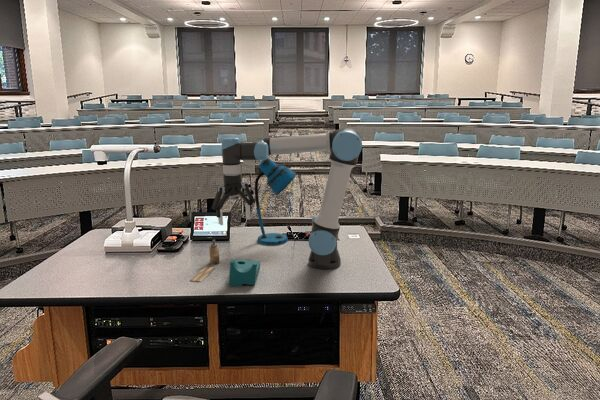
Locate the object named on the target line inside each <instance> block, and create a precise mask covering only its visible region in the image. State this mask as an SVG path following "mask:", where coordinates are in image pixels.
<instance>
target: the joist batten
mask: <svg viewBox="0 0 600 400" xmlns="http://www.w3.org/2000/svg"><path fill="white" fill-rule="evenodd" d="M215 269H216V267H214V266H213V267H211V266H204V267H203V268H202V269H201V270H200V271H199V272H198V273H196V274H195V275H194V276H193V277H192V278H191V279H190V280H189V282H194V283H195V282H196V283H202V282H203V281H204V280H205V279H206V278H207V277H208V276H209V275H210V274H211V273H212V272H213V271H214V270H215Z"/></svg>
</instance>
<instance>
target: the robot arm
mask: <svg viewBox="0 0 600 400" xmlns="http://www.w3.org/2000/svg"><path fill="white" fill-rule="evenodd" d="M362 149H363V142H362V137H361V135H360V133H359V132H358V131H357V130H356V129H354V128H351V127H345V128H339V129H334V130H328V131H327V132H326V133H317V134H316V133H315V134H305V135H292V136H291V135H290V136H281V137H270V138H268V137H267V138H263V137H258V138H256V139H254V140H253V141H251V142H249V141H248V142H247V141H246V142H241V141H240V138H239V137H232V136H231V137H223V138H222V140H221V156H222V159H221V160H222V170H223V172H222V173H223V174H224V175H223V184H224V185H223V186H217V188H216V189H217V190H216V193H215V197H214V199H213V202H212V206H211V209H212V210H214V211H215V215H216V218H218V220H217V221H218V225H220V226H224V217H223V210H222V208H223V207H224V205H225V203H226V201H227V200H228V199H229V198H230V196H231V197H233V196H240V197H241V198H242V200H243V201H244V202H245V203H246V204H245V219H246V220H251V219H252V218H251V212H252V211H253V210H252V206H253V204H254V203H255V204H256V199H255V198H254V196H253V194H252V191H251V190H250V189H249V183H247V182H243V183H242V174H241V172H242V166H241V161H260V162H261V161H262V160H266V159H267V158H269V156H273V155H274V156H275V155H287V154H301V153H302V154H303V153H315V152H329V157H328V160H329V161H330V163H331V164H330V169H329V173H328V176H327V177H328V178H327V180H326V184H325V190H324V192H323V196H322V201H321V203H320V204H321V205H320V210H319V212H318V213H319V214H318V215H314V216H312V219H311V230H310V234H309V236H308V246H309V248H310V253H309V256H308V260H307V261H308V265H309V266H310V267H311V268H314V269H318V270H331V269H335V268H338V267H340V266H341V265H342V263H341V262H342V260H341V257H340V253H339V250H338V236H339V234H340V233H339V231H340V228H341V225H340V223H339V219H340V214H341V211H342V206H343V203H344V199H345V196H346V192H347V187H348V185H349V180H350V176H351V172H352V169H353V168H355V167H357V163H358V162H359V161H358V160H359V156H360V153H361V152H362ZM242 189H243V190H244V192H245V193H246V195H245V194H244V192H243V191H242Z"/></svg>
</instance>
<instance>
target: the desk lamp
mask: <svg viewBox="0 0 600 400" xmlns="http://www.w3.org/2000/svg"><path fill="white" fill-rule="evenodd" d="M258 168H259V169H260V173H258V175H257V176H256V178H255V181H254V197H255V198H254V199H255V206H256V212H257V213H256V214H257V219H258V222H259V227H260V231H261V234H260V235H259V236H258V237H257V242H258V243H259V244H261V245H264V246H279V245H285V244H286V243H288V241H289V239H288V236H287V235H286V234H284V233H280V232H269V233H268V232H267V233H266V231H265V229H264V223H263V219H262V213H261V208H260V200H259V180H260V179H261V178H262V177H263V176H265V177H266V179H267V185H268V186H269V188H270V189H271V190H272V192H273V193H274V195H275V196H278V195H279V194H281V193H282V192H283V191H284V190H285V189H286V188H287V187H288V186H289V185H290V184H291V183H292V181H294V179H295V178H296V177H297V173H296V172H294V171H293V170H291V169H290V168H288V167H287V166H286V165H279V164H277V163H275V162H274V161H273V160H272V159H270V158H269V157H268V158H267V159H266V160H260V163H259V164H258Z"/></svg>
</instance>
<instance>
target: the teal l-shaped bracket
mask: <svg viewBox="0 0 600 400" xmlns="http://www.w3.org/2000/svg"><path fill="white" fill-rule="evenodd" d="M260 269H261V261H259V260H248V259H240V258H239V259H237V258H236V259H235V258H234V259H231V260H230V262H229V277H228V279H229V280H228V286H229V287H240V288H241V287H243V285H251V286H255V285H256V283H257V279H258V277H259V273H260Z"/></svg>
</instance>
